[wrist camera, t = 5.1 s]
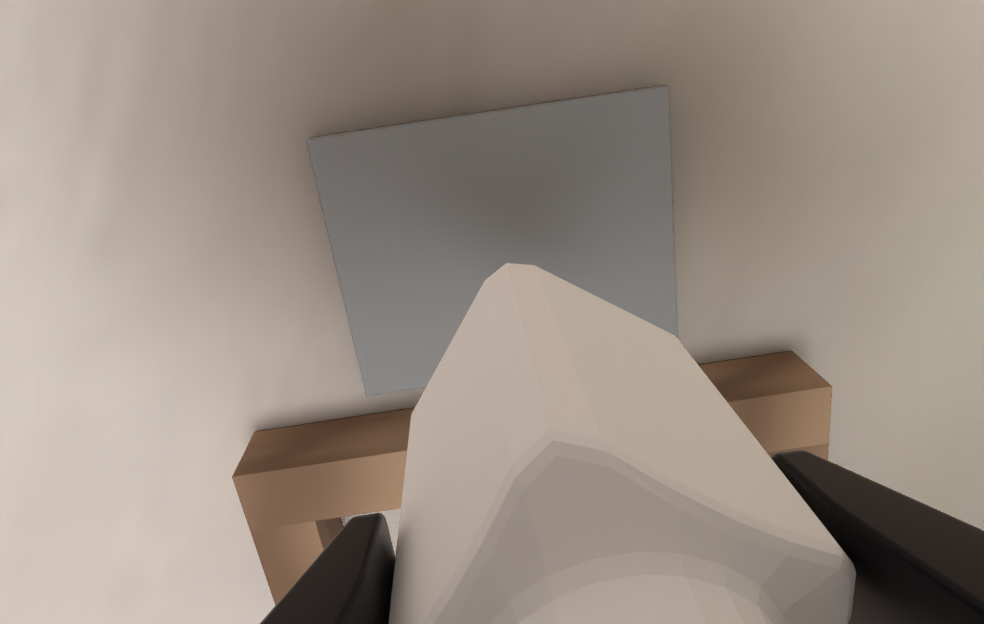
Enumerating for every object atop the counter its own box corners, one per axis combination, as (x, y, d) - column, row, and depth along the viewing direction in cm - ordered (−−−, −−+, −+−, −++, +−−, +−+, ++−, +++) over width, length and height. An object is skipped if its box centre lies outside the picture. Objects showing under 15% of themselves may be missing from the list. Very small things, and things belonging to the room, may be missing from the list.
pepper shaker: (398, 423, 13) (278, 1298, 4) (499, 239, 11) (667, 891, 3) (580, 499, 13) (829, 1356, 5) (691, 336, 12) (1309, 1070, 3)
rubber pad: (662, 85, 19) (668, 86, 18) (672, 341, 22) (677, 349, 21) (310, 137, 19) (305, 140, 18) (368, 387, 22) (366, 396, 21)
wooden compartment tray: (791, 350, 22) (832, 386, 20) (783, 582, 26) (817, 634, 24) (254, 431, 22) (232, 476, 20) (324, 652, 26) (311, 712, 24)
